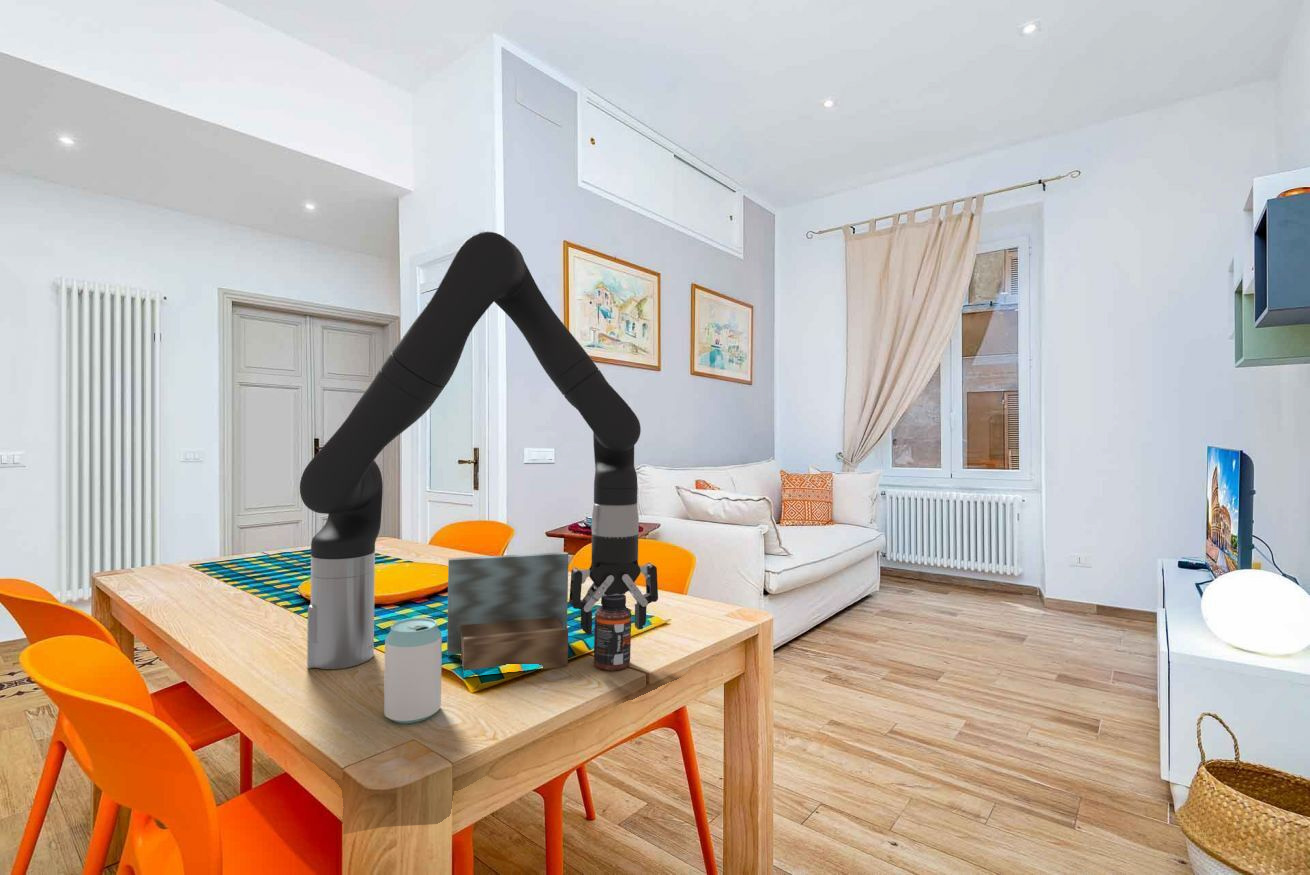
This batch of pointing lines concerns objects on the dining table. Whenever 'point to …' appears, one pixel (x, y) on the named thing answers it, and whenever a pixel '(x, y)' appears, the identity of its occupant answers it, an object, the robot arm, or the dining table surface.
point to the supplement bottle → (612, 633)
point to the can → (412, 670)
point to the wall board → (508, 610)
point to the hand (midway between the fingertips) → (613, 630)
